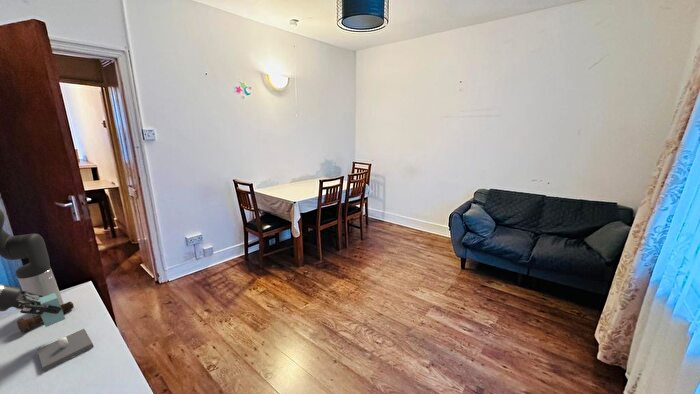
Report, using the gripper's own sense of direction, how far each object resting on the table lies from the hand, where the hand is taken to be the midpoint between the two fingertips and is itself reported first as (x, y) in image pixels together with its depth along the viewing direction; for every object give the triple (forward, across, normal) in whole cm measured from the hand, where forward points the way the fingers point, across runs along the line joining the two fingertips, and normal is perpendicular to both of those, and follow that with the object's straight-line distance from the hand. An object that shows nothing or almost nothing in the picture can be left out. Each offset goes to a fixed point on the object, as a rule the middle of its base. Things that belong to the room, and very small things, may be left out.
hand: (57, 307), depth 102 cm
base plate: (+6, -11, +9) cm, 16 cm away
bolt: (+6, +16, +10) cm, 20 cm away
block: (+2, 0, +4) cm, 5 cm away
